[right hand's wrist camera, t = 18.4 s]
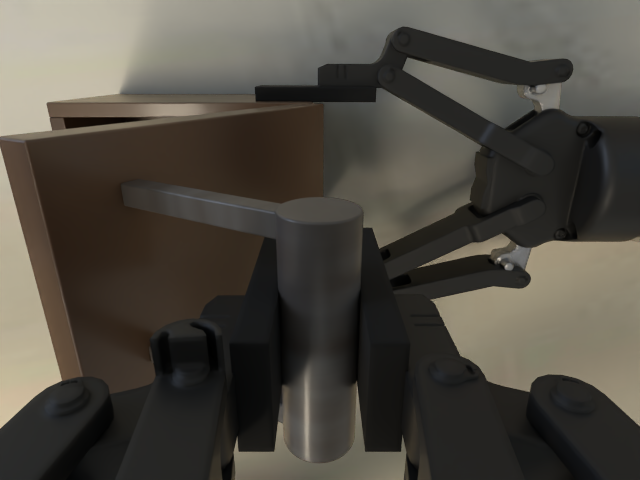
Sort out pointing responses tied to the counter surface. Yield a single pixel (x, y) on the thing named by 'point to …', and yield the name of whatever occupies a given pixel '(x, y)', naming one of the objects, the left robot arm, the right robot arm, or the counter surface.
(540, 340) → the counter surface
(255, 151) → the lid
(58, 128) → the chest
